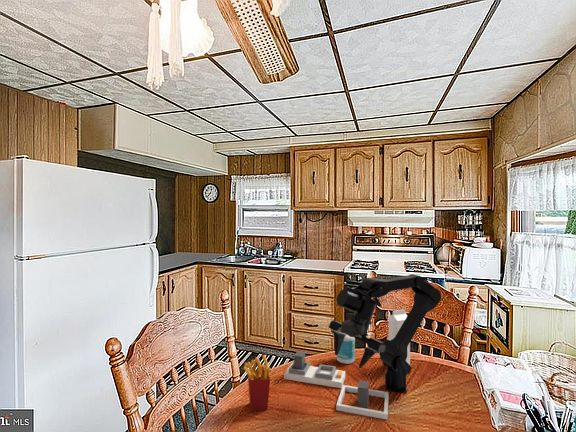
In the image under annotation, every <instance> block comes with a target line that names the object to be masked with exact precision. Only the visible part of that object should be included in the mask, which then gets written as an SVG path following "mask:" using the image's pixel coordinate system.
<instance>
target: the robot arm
mask: <svg viewBox="0 0 576 432" xmlns="http://www.w3.org/2000/svg"><path fill="white" fill-rule="evenodd" d="M404 289H411V291H412V292H413V293H414V295H413V306H412V307H411V309H410V310H409V312H408V314H407V317H406V319H405V321H404V323H403V324H402V326H401V328H400V329H399V331H398V333H397V334H396V336H395V338H394V339H392V340H389V338H388V339H387V338H386V339H385V340H384V342H382V341H381V340H379V339H376V338H373V337H368V336H369V333H368V331H369V328H370V326H371V325H372V323H373V321H372V319H373V315H374V312H375V309H376V306H377V307H378V308H379V307H380V308H381V307H382V303H381V302H380V299H379V298H382V297H385V296H387V295H388V294H389V293H390V292H394V291H400V290H404ZM441 300H442V295H441V291H440V290H439V289H438V288H436V287H435V286H434V285H432V284H431V283H430V282H428V281H427V280H425V279H424V278H423V277H422V276H421V275H418V274H408V275H403V276H396V277H391V278H377V277H365V278H363V279H362V282H361V283H360V284H359V285H357V286H356V287H355V288H352V287H350V286H347V285H345V286H344V287H343V288H342V289H341V290H340V291H339V293H338V294H337V295H336V304H337V306H339V307H341V308H344V309H346V310H350V311H352V312H354V314H352V315H351V316H350V318H349V319H346V320H343V321H342V322H340V321H338V320H331V321H330V322H329V324H328V328H329V329H331V330H330V332H331V333H333V337H334V355H335V356H337V354H338V353H339V351H340V348H341V345H342V343H343V340H344V338H345V334H347V335H348V336H350V337H354V338H355V340H358V341H361V342H362V343H365V344H366V345H367V346H364V352H363V354H362V357H361V359H360V362H359V365H358V368H359V369H362V368H363V367H364V366H365V365H366V363H367V362H368V361H369V360H370V359H371V358H372V357H374V355H375V354H379V359H380V360H381V362H382V365H383V366H384V367H386V370H385V371H384V372H385V373H384V375H385V378H384V379H385V382H384V383H385V384H384V385H385V386H386V390H388V391H393V392H399V393H405V394H406V393H408V392H407V391H408V390H407V376H408V374H411V371H412V369H413V367H412V366H411V364H410V365H409V364H408V363H407V362H406V359H407V347H408V345H409V343H410V344H411V341H412V339H413V337H415V334H416V333H417V330H418V329H419V327H420V326H421V324H422V322H423V320H424V319H425V316H426V315H427V313H428V312H430V311H433V310H434V309H435V308H436V307H438V305H439V303H440V302H441ZM343 333H345V334H343Z"/></svg>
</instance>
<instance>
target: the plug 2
mask: <svg viewBox="0 0 576 432" xmlns="http://www.w3.org/2000/svg"><path fill="white" fill-rule="evenodd" d="M357 387H358V393H357V407H360V408H365V409H369V401H370V400H369V399H370V397H369V396H370V395H369V389H370V382H369V381H364V380H358V385H357Z"/></svg>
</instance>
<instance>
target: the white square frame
mask: <svg viewBox="0 0 576 432" xmlns="http://www.w3.org/2000/svg"><path fill="white" fill-rule="evenodd" d="M340 389H341V390H340V391H339V392H340V394H339V396H338V398H337V402H336V407H335V410H336V411H340V412H345V413H349V414H355V415H360V416H366V417H371V418H378V419H383V420H388V412H389V392H388V391H382V390H376V389H372V388H369V396H372V397H377V398H383V399H384V404H383V405H384V407H383V411H380V410H375V409H371V408H364V407H359V406H352V405H347V404H343V401H344V397H345V394H346V392H348V393H353V394H354V393H355V394H358V386H351V385H346V384H343V386H342V388H340Z"/></svg>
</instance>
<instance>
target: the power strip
mask: <svg viewBox="0 0 576 432" xmlns="http://www.w3.org/2000/svg"><path fill="white" fill-rule="evenodd" d="M283 376H284V377H283V378H284V380H290V381H294V382H295V381H296V382H299V383H300V382H301V383H306V384H314V385H320V386H325V387H332V388H338V389H342V386H343V385H344V382H345V379H346V370H339V369H337V366H334V365H328V364H327V365H326V364H319V365H318V366H313V365H311V362H306V361H305V368H304V370H299V369H294V361H293V362H291V364H290V365H289V366H288V367H287V369H286V371H285V372H284V373H283Z"/></svg>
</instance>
